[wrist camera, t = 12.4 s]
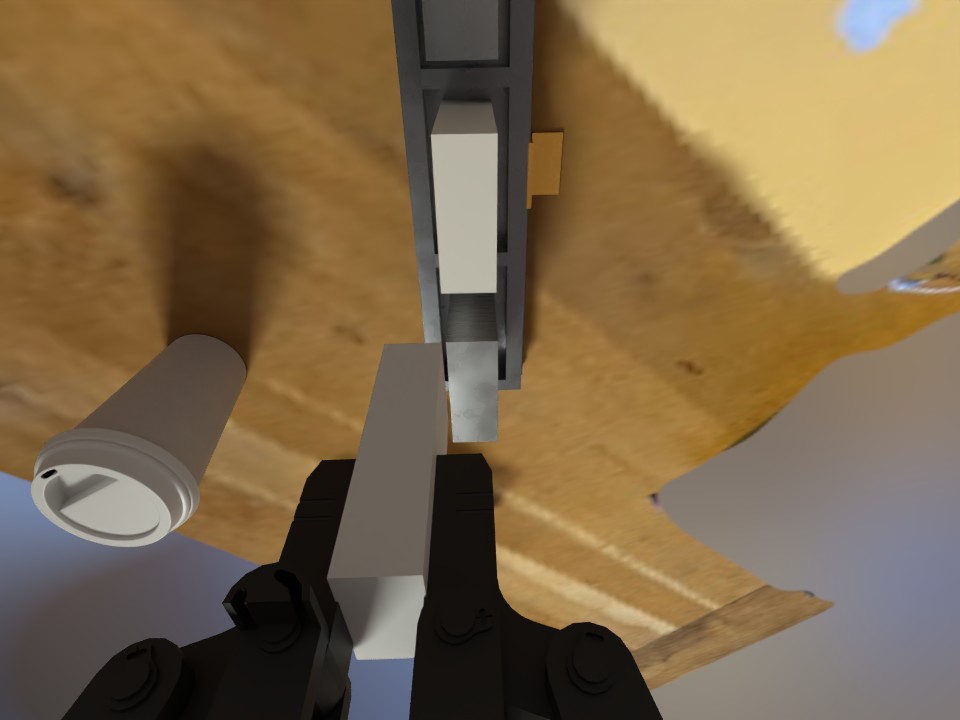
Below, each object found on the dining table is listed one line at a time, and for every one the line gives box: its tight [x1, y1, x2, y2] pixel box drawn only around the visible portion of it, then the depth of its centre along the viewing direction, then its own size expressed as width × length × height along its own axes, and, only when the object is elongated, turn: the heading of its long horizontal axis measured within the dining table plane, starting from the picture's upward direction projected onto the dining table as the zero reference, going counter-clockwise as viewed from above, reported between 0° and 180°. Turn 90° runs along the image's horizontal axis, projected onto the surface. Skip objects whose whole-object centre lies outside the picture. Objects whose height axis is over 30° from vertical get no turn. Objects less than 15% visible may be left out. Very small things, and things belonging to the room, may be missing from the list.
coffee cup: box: [31, 334, 247, 547], centre depth 37 cm, size 10×10×15 cm
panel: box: [431, 100, 498, 294], centre depth 29 cm, size 8×3×10 cm, turn 1°
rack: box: [391, 0, 563, 442], centre depth 29 cm, size 34×10×11 cm, turn 1°
